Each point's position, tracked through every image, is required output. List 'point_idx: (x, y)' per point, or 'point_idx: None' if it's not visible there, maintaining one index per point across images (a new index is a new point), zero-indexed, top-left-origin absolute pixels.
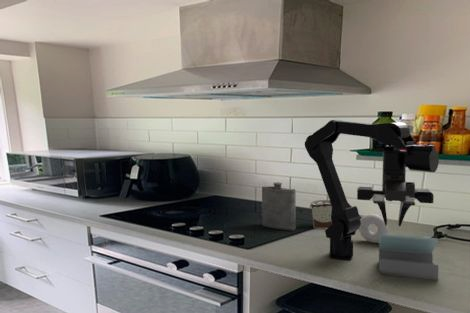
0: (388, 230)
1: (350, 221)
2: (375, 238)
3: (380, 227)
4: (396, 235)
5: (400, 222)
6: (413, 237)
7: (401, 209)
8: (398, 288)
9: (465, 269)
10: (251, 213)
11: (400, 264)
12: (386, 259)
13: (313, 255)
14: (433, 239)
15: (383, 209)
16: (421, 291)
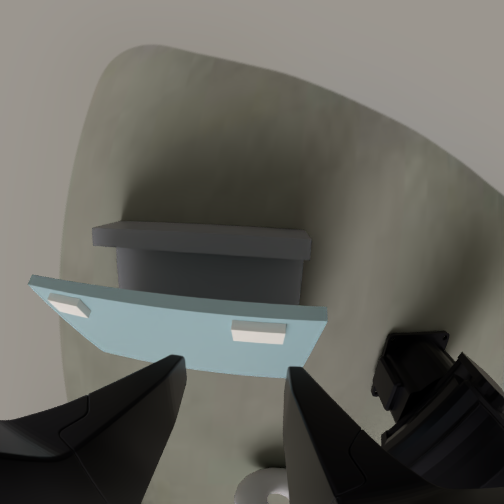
0: (235, 494)
1: (475, 411)
2: (276, 475)
3: (260, 501)
4: (218, 313)
5: (159, 368)
6: (119, 297)
7: (79, 450)
8: (255, 114)
9: (59, 318)
10: None
11: (226, 231)
12: (284, 247)
13: (477, 338)
14: (43, 281)
15: (364, 475)
16: (184, 112)
